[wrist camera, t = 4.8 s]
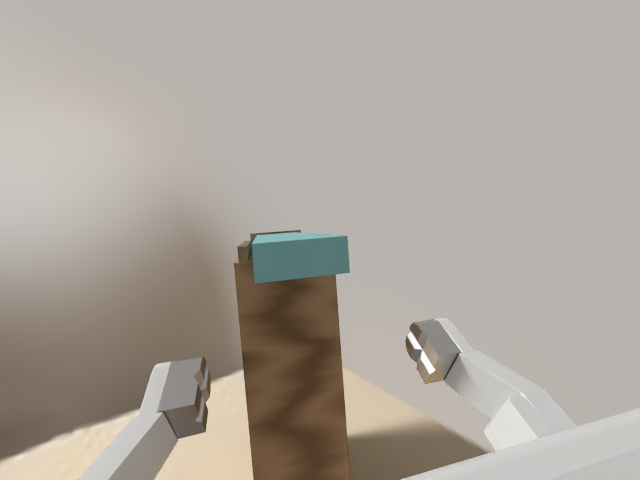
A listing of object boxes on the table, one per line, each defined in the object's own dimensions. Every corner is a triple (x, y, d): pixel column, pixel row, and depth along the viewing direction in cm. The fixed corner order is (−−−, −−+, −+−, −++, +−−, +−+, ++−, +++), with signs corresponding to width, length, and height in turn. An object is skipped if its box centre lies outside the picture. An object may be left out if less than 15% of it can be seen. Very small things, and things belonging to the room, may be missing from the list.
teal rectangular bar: (254, 283, 12) (251, 243, 12) (258, 250, 31) (256, 235, 31) (349, 272, 13) (347, 235, 13) (295, 246, 32) (294, 232, 32)
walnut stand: (262, 577, 22) (231, 237, 20) (261, 455, 33) (242, 234, 32) (354, 544, 23) (332, 229, 22) (323, 439, 35) (307, 229, 34)
